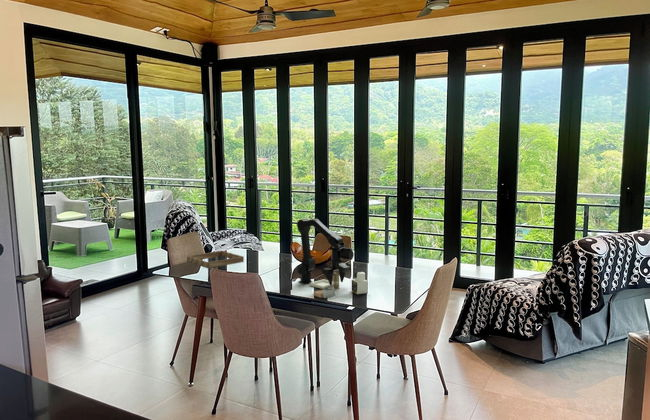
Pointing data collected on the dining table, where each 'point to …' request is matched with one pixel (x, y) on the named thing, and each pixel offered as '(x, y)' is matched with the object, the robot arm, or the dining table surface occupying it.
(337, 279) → the dowel
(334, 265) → the robot arm
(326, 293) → the grey sanding sponge
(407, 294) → the dining table surface
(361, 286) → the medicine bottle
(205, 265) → the frame
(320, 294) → the peach rectangular block
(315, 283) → the tray
